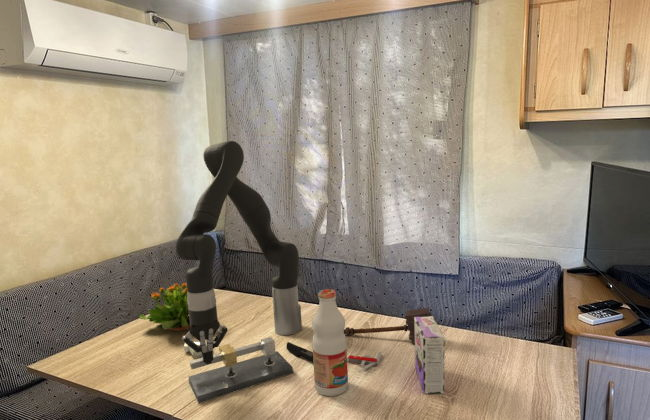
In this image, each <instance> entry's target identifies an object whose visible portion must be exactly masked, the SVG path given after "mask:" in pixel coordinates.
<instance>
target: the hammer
mask: <svg viewBox="0 0 650 420" xmlns="http://www.w3.org/2000/svg"><path fill="white" fill-rule="evenodd" d="M424 316H432V312H431V311H430V308H429V307H424V308H417V309H410V310H406V311H405V316H404V317H405V324H403V325H399V326H398V325H397V326H388V327H387V326H385V327H371V328H354V327H345V328H344V334H345V336H353V335H356V334H357V335H358V334H373V333H387V332H400V331H404V332H409V334H408V340H409V341H411V346H415V328H414V317H424Z"/></svg>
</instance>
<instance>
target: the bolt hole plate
mask: <svg viewBox="0 0 650 420" xmlns="http://www.w3.org/2000/svg"><path fill="white" fill-rule="evenodd" d="M275 352H276V353H274V354H271V362H268V358H267V356H265V355H264V354H263V355H259V356H255V357H252V358H248V359H245V360H241V361H237V364H236V365H233V366H232V369H233V373H232V374H229V367H226V366H225V365H224V366H220V367H218V368H217V367H216V368H213V369H211V370H207V371H204V372H203V371H202V372H199V373H196V374H192V375H190V376H188V383H189V385H190V388H191V390H192V392H193V394H194V396H195V399H196V401H197V403H198V404H200V403H203V402H206V401H209V400H212V399H216V398H218V397H222V396H225V395H228V394H231V393H235V392H238V391H241V390H244V389H247V388H251V387H253V386H256V385H260V384H262V383H266V382H269V381H273V380H275V379H280V378H282V377H285V376H288V375H291V374H294V372H293V371H294V368H293V366H292V365H291V364H290V363H289V362H288V361H287V360H286V358H284V356H283V355H282V354H281V353H280V352H279V351H277V350H275Z"/></svg>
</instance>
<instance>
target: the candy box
mask: <svg viewBox="0 0 650 420" xmlns="http://www.w3.org/2000/svg"><path fill="white" fill-rule="evenodd" d="M434 317H435V316H433V315H431V316H424V317H414V328H415V345H414V361H415V362H414V367H415V368H414V369H415V372H416V374H417V378H418V381H419V384H420V386H421V390H422V393H423V395H442V394H443V395H444V394H445V342H446V341H445V335H444V334H443V333H442V330H441V329H440V326H439V325H438V323H437V322H436V319H435V318H434Z"/></svg>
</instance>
